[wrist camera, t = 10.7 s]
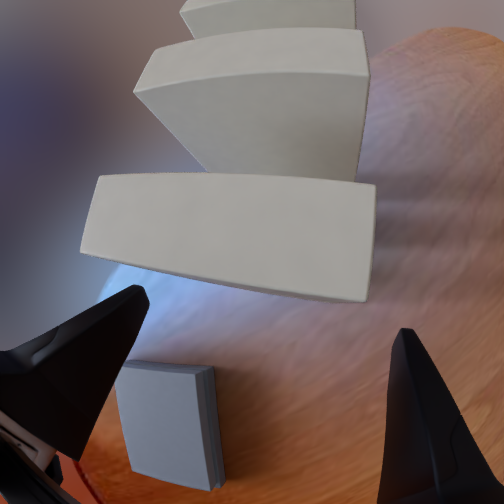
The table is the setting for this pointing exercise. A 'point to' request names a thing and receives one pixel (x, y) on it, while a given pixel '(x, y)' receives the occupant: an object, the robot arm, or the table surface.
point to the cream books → (265, 87)
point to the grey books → (171, 422)
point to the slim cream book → (240, 231)
